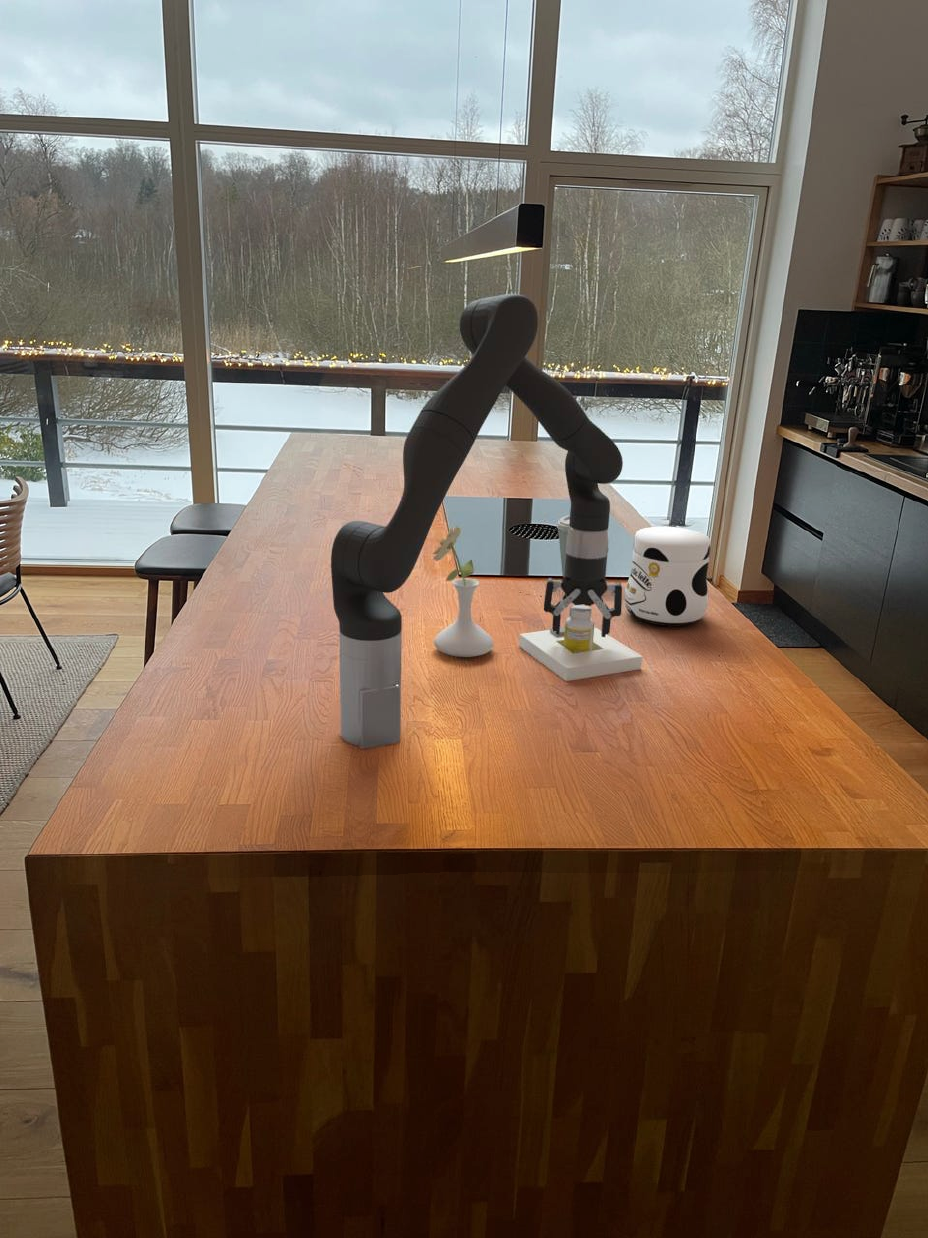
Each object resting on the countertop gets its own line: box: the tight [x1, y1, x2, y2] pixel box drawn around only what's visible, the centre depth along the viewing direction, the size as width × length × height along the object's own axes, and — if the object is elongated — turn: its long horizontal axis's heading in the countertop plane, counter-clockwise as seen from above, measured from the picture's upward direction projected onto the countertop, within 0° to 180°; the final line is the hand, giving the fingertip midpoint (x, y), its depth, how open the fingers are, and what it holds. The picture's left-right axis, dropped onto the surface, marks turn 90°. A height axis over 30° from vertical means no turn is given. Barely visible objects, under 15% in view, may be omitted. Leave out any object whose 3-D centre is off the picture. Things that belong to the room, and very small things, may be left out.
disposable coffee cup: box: [556, 514, 570, 578], centre depth 223 cm, size 11×11×15 cm
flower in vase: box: [432, 525, 495, 658], centre depth 175 cm, size 13×11×25 cm
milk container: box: [624, 526, 711, 627], centre depth 199 cm, size 17×17×18 cm
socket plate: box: [518, 626, 643, 682], centre depth 178 cm, size 18×16×3 cm
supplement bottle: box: [564, 604, 595, 653], centre depth 177 cm, size 5×5×10 cm
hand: (580, 634), depth 177 cm, fingers open, 8 cm apart
